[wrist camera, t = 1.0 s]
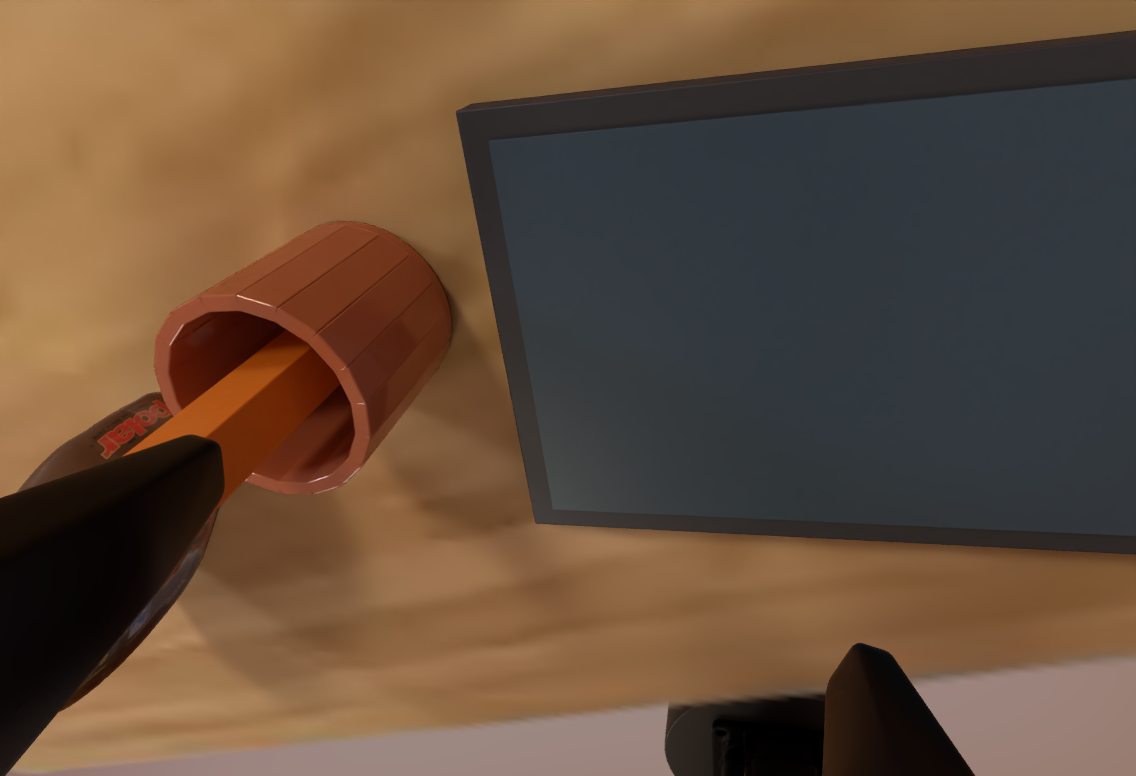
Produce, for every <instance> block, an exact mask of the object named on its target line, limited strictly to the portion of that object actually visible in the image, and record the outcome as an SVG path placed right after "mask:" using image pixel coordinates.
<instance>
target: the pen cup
mask: <svg viewBox="0 0 1136 776" xmlns="http://www.w3.org/2000/svg"><path fill="white" fill-rule="evenodd" d="M286 329H287V330H288V331H290V332H291V333H293V334H294V335H296V336H298V337H299V338H301V339H302V340H304V341H305V342H307V343H308V344H309V345H310V346H311V347H312V348H313V349H314V350H315V351H316V352H317V353H318V355H319V356H320V357H321V358H322V359H323V360H324V361H325V362H326V363H327V364H328V365H329V366H330V368H331V369H332V370H333V371H334V372H335V374H336V376H337V378H338V379H339V381H340V383H341V384H340V385H339V386H338V387H337V388H336V389H335V390H334V391H333V392H332V393H331V394H330V395H329V396H328V397H327V398H326V399H325V400H324V401H323V402H322V403H321V404H320V405H319V406H318V407H317V408H316V409H315V410H314V411H313V412H312V413H311V414H310V415H309V416H308V417H307V418H306V419H305V420H304V421H303V422H302V423H301V424H300V425H299V426H298V427H297V428H296V429H295V430H294V431H293V432H292V433H291V434H290V435H289V436H288V437H287V439H286V440H285V441H284V442H283V443H282V444H281V445H280V446H279V447H278V448H277V449H276V450H275V451H274V452H273V453H272V454H271V455H270V456H269V457H268V458H267V459H266V460H265V461H264V462H263V463H262V464H261V465H260V466H259V467H258V468H257V469H256V470H255V471H254V472H253V473H252V474H251V475H250V476H249V477H248V478H247V479H246V480H245V481H247V482H248V483H251V484H254V485H257V486H260V487H263V488H266V489H269V490H272V491H275V492H278V493H283V494H303V495H314V494H315V495H316V494H319V493H322V492H325V491H328V490H331V489H334V488H337V487H340V486H342V485H344V484H345V483H346V482H347V481H348V480H349V479H350V478H351V477H352V476H353V475H354V474H355V473H356V472H358V471H359V470H360V469H361V468H362V466H363V465H364V464H365V463H366V461H367V460H368V459H369V457H370V456H371V455H372V454H373V452H374V451H375V450H376V448H377V447H378V446H379V445H380V443H381V442H382V441H383V439H384V438H385V437H386V436H387V434H388V433H389V432H390V430H391V429H392V428H393V427H394V425H395V424H396V423H397V421H398V420H399V419H400V418H401V416H402V415H403V414H404V412H405V411H406V410H407V409H408V407H409V406H410V405H411V403H412V402H413V401H414V400H415V398H416V397H417V396H418V394H419V393H420V392H421V391H422V389H423V388H424V387H425V385H426V384H427V383H428V382H429V380H430V379H431V378H432V376H433V375H434V374H435V373H436V371H437V370H438V368H439V366H440V364H441V363H442V361H443V360H444V358H445V356H446V353H447V351H448V348H449V344H450V341H451V332H452V321H451V313H450V307H449V304H448V300H447V297H446V294H445V292H444V290H443V287H442V285H441V283H440V282H439V280H438V278H437V276H436V275H435V273H434V272H433V270H432V269H431V268H430V266H429V265H428V264H427V262H426V261H425V260H424V259H423V258H422V257H421V256H420V255H419V254H418V253H417V252H416V251H415V250H414V249H413V248H412V247H410V246H409V245H408V244H407V243H405V242H404V241H402V240H401V239H399V238H398V237H396V236H394V235H393V234H391V233H389V232H387V231H385V230H383V229H380V228H378V227H375V226H372V225H368V224H365V223H359V222H352V221H337V222H330V223H326V224H323V225H319V226H317V227H315V228H313V229H311V230H309V231H307V232H305V233H304V234H302V235H300V236H298V237H296V238H295V239H293V240H291V241H289V242H288V243H286V244H284V245H282V246H281V247H279V248H277V249H276V250H274V251H272V252H270V253H269V254H267V255H265V256H264V257H262V258H260V259H259V260H257V261H255V262H253V263H252V264H250V265H248V266H247V267H245V268H243V269H241V270H240V271H238V272H236V273H235V274H233V275H231V276H229V277H228V278H226V279H224V280H223V281H221V282H219V283H217V284H216V285H214V286H212V287H211V288H209V289H207V290H205V291H204V292H202V293H200V294H199V295H197V296H195V297H193V298H192V299H190V300H188V301H187V302H185V303H183V304H181V305H180V306H178V307H176V308H175V309H173V310H172V311H171V312H170V314H169V315H168V317H167V319H166V320H165V322H164V324H163V325H162V327H161V329H160V330H159V332H158V334H157V335H156V339H155V356H154V368H155V369H154V371H155V374H156V377H157V381H158V384H159V387H160V390H161V393H162V396H163V400H164V402H166V403H165V404H166V406H167V407H168V409H169V410H170V412H171V413H172V415H173V416H175V415H176V414H178V413H179V412H180V411H182V410H183V409H184V408H186V407H187V406H188V405H189V404H191V403H192V402H193V401H195V400H196V399H197V398H198V397H200V396H201V395H202V394H204V393H205V392H206V391H207V390H209V389H210V388H211V387H213V386H214V385H215V384H217V383H218V382H219V381H220V380H222V379H223V378H224V377H226V376H227V375H228V374H229V373H231V372H232V371H233V370H235V369H236V368H237V367H239V366H240V365H241V364H242V363H244V362H245V361H246V360H248V359H249V358H250V357H251V356H253V355H254V354H255V353H257V352H258V351H259V350H261V349H262V348H263V347H264V346H266V345H267V344H268V343H270V342H271V341H272V340H273V339H275V338H276V337H277V336H279V335H280V334H281V333H283V332H284V331H285V330H286Z"/></svg>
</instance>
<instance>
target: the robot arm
mask: <svg viewBox="0 0 1136 776" xmlns="http://www.w3.org/2000/svg"><path fill="white" fill-rule="evenodd" d="M224 490H225V477H224V467H223V457H222V449H221V446H220V445H219V443H218V442H216V441H214V440H211V439H208V438H204V437H201V436H198V435H194V434H188V435H184V436H181V437H178V438H175V439H172V440H169V441H166V442H163V443H160V444H157V445H154V446H152V447H149V448H146V449H143V450H140V451H137V452H134V453H131V454H128V455H125V456H122V457H119V458H116V459H113V460H111V461H108V462H105V463H102V464H99V465H96V466H93V467H90V468H87V469H84V470H81V471H78V472H75V473H72V474H70V475H67V476H64V477H61V478H58V479H55V480H52V481H49V482H46V483H43V484H40V485H37V486H34V487H31V488H29V489H26V490H23V491H20V492H17V493H14V494H11V495H8V496H5V497H2V498H0V776H5V775H6V774H7V773H8V772H9V771H10V769H11V768H12V767H13V766H14V765H15V764H16V762H17V761H18V760H19V759H20V758H21V756H22V755H23V754H24V753H25V752H26V750H27V749H28V748H29V747H30V746H31V744H32V743H33V742H34V741H35V740H36V738H37V737H38V736H39V735H40V734H41V732H42V731H43V730H44V729H45V728H46V726H47V725H48V724H49V723H50V722H51V720H52V719H53V718H54V717H55V716H56V714H57V713H58V712H59V711H60V710H61V708H62V707H63V706H64V705H65V704H66V702H67V701H68V700H69V699H70V698H71V696H72V695H73V694H74V693H75V692H76V690H77V689H78V688H79V687H80V686H81V684H82V683H83V682H84V681H85V680H86V679H87V677H88V676H89V675H90V674H91V673H92V671H93V670H94V669H95V668H96V667H97V665H98V664H99V663H100V662H101V661H102V659H103V658H104V657H105V656H106V655H107V653H108V652H109V651H110V650H111V649H112V647H113V646H114V645H115V644H116V643H117V641H118V640H119V639H120V638H121V637H122V635H123V634H124V633H125V632H126V631H127V629H128V628H129V627H130V626H131V625H132V623H133V622H134V621H135V620H136V619H137V617H138V616H139V615H140V614H141V613H142V611H143V610H144V609H145V608H146V607H147V605H148V604H149V603H150V602H151V600H152V599H153V598H154V597H155V595H156V594H157V593H158V592H159V590H160V589H161V588H162V586H163V585H164V583H165V582H166V581H167V579H168V578H169V576H170V575H171V573H172V572H173V570H174V569H175V568H176V566H177V565H178V563H179V562H180V560H181V559H182V557H183V556H184V554H185V553H186V551H187V550H188V548H189V547H190V545H191V544H192V542H193V541H194V539H195V538H196V536H197V535H198V533H199V532H200V530H201V529H202V527H203V526H204V525H205V523H206V522H207V520H208V519H209V517H210V516H211V514H212V513H213V511H214V510H215V508H216V507H217V505H218V504H219V502H220V500H221V498H222V496H223V493H224ZM711 733H712V760H713V776H975V775H974V774H973V772H972V770H971V769H970V767H969V766H968V765H967V763H966V762H965V760H964V759H963V758H962V756H961V754H960V753H959V752H958V750H957V749H956V747H955V746H954V744H953V743H952V741H951V740H950V739H949V737H948V736H947V734H946V733H945V731H944V730H943V728H942V727H941V726H940V724H939V723H938V721H937V720H936V718H935V717H934V715H933V714H932V712H931V711H930V709H929V708H928V707H927V706H926V704H925V702H924V701H923V699H922V698H921V696H920V695H919V694H918V692H917V691H916V689H915V688H914V686H913V685H912V683H911V682H910V680H909V679H908V678H907V676H906V675H905V673H904V672H903V670H902V669H901V667H900V666H899V665H898V663H897V662H896V660H895V659H894V657H893V656H892V655H891V654H890V653H889V652H887V651H885V650H882V649H879V648H876V647H872V646H869V645H866V644H863V643H857V644H855V645H853V646H852V648H851V649H850V650H849V652H848V653H847V654H846V656H845V657H844V659H843V660H842V662H841V663H840V665H839V666H838V668H837V669H836V670H835V672H834V673H833V675H832V676H831V678H830V680H829V683H828V686H827V690H826V701H825V726H824V731H818V730H810V729H801V728H793V727H784V726H775V725H767V724H758V723H750V722H741V721H733V720H724V719H717V720H714V721H713V722H712V731H711Z"/></svg>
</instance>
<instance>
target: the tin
mask: <svg viewBox="0 0 1136 776" xmlns="http://www.w3.org/2000/svg"><path fill="white" fill-rule="evenodd" d="M165 403H166V402H164V400H163V396H162V393H161V392H155V393H149V394H146V395H144V396H142V397H141V398H139V399H137V400H136V401H134V402H132V403H130V404H128V405H126V406H124V407H122V408H120V409H119V410H117V411H115V412H113V413H112V414H110V415H108V416H107V417H105V418H104V419H102V420H101V421H99V422H97V423H96V424H94V425H93V426H92V427H90V428H89V429H87V430H86V431H84V432H83V433H81V434H79V435H78V436H76V437H74V438H72V439H71V440H69V441H67V442H66V443H64V444H63V445H62V446H60V447H59V448H58V449H57V450H55V451H54V452H53V453H52V454H51V455H50V456H49V457H48V458H47V459H46V460H45V461H44V462H43V463H42V464H41V465H40V466H39V467H38V468H37V469H36V470H35V471H34V472H33V473H32V474H31V476H30V477H29V478H28V479H27V480H26V481H25V483H24V484H23V485H22V486H21V488H20V489H19V490H18V491H17V492H20V491H23V490H26V489H29V488H31V487H34V486H37V485H40V484H43V483H46V482H49V481H52V480H55V479H58V478H61V477H64V476H67V475H70V474H72V473H75V472H78V471H81V470H84V469H87V468H90V467H93V466H96V465H99V464H102V463H105V462H108V461H111V460H113V459H116V458H119V457H122V456H123V455H125V454H126V453H127V452H129V451H130V450H131V449H132V448H134V447H135V446H136V445H138V444H139V443H140V442H142V441H143V440H144V439H145V438H147V437H148V436H149V435H151V434H152V433H153V432H154V431H156V430H157V429H158V428H160V427H161V426H162V425H164V424H165V423H166V422H167V421H169V420H170V419H171V418H173V417H174V416H173V415H172V413H171V412H170V410H169V409H168V407H167V406H166V404H165ZM17 492H16V493H17ZM217 511H218V508H217V509H216V510H215V511H214V512H213V513H212V514H211V516H210V517H209V519H208V520H207V522H206V523H205V525H204V526H203V527H202V529H201V530H200V532H199V533H198V535H197V536H196V538H195V539H194V541H193V542H192V544H191V545H190V547H189V548H188V550H187V551H186V553H185V554H184V556H183V557H182V559H181V560H180V562H179V563H178V565H177V566H176V568H175V569H174V570H173V572H172V573H171V575H170V576H169V578H168V579H167V581H166V582H165V583H164V585H163V586H162V588H161V589H160V590H159V592H158V593H157V594H156V595H155V597H154V598H153V599H152V600H151V602H150V603H149V604H148V605H147V607H146V608H145V609H144V610H143V611H142V613H141V614H140V615H139V616H138V617H137V619H136V620H135V621H134V622H133V623H132V625H131V626H130V627H129V628H128V629H127V631H126V632H125V633H124V634H123V635H122V637H121V638H120V639H119V640H118V641H117V643H116V644H115V645H114V646H113V647H112V649H111V650H110V651H109V652H108V653H107V655H106V656H105V657H104V658H103V659H102V661H101V662H100V663H99V664H98V665H97V667H96V668H95V669H94V670H93V671H92V673H91V674H90V675H89V676H88V677H87V679H86V680H85V681H84V682H83V683H82V684H81V686H80V687H79V688H78V689H77V690H76V692H75V693H74V694H73V695H72V696H71V698H70V699H69V700H68V701H67V702H66V704H65V705H64V706H63V707H62V708H61V710H60V711H62V710H64V709H66V708H68V707H70V706H71V705H72V704H74V703H76V702H77V701H78V700H80V699H81V698H82V697H84V696H85V695H87V694H88V693H89V692H90V691H91V690H93V689H94V688H95V687H97V686H98V685H99V684H100V683H101V682H102V681H103V680H104V679H105V678H107V677H108V676H109V675H110V674H111V673H112V672H113V671H114V670H115V669H116V668H118V667H119V666H120V665H121V664H122V663H123V662H124V661H125V660H126V658H127V657H128V656H129V655H130V654H132V653H133V651H134V650H135V649H136V648H137V647H138V646H139V645H140V644H141V643H142V641H143V640H144V639H145V638H146V637H147V636H148V635H149V634H150V632H151V631H152V630H153V629H154V628H155V626H156V625H157V624H158V623H159V621H160V620H161V619H162V618H163V617H164V615H165V614H166V613H167V612H168V610H169V609H170V608H171V607H172V605H173V604H174V603H175V602H176V600H177V599H178V598H179V596H180V595H181V594H182V592H183V591H184V589H185V588H186V586H187V585H188V583H189V581H190V580H191V578H192V576H193V575H194V573H195V571H196V569H197V567H198V566H199V563H200V561H201V559H202V557H203V554H204V551H205V549H206V546H207V542H208V539H209V536H210V533H211V530H212V526H213V524H214V520H215V517H216V514H217ZM60 711H59V712H60Z"/></svg>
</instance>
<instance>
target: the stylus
mask: <svg viewBox="0 0 1136 776" xmlns="http://www.w3.org/2000/svg"><path fill="white" fill-rule="evenodd" d="M340 384H341V383H340V381H339V379H338V378H337V376H336V374H335V372H334V371H333V370H332V369H331V368H330V366H329V365H328V364H327V363H326V362H325V361H324V360H323V359H322V358H321V357H320V356H319V355H318V353H317V352H316V351H315V350H314V349H313V348H312V347H311V346H310V345H309V344H308V343H307V342H305V341H304V340H302V339H301V338H299V337H298V336H296V335H294V334H293V333H291V332H290V331H288V330H287V329H286V330H285V331H284V332H283V333H281V334H280V335H279V336H277V337H276V338H275V339H273V340H272V341H271V342H270V343H268V344H267V345H266V346H264V347H263V348H262V349H261V350H259V351H258V352H257V353H255V354H254V355H253V356H251V357H250V358H249V359H248V360H246V361H245V362H244V363H242V364H241V365H240V366H239V367H237V368H236V369H235V370H233V371H232V372H231V373H229V374H228V375H227V376H226V377H224V378H223V379H222V380H220V381H219V382H218V383H217V384H215V385H214V386H213V387H211V388H210V389H209V390H207V391H206V392H205V393H204V394H202V395H201V396H200V397H198V398H197V399H196V400H195V401H193V402H192V403H191V404H189V405H188V406H187V407H186V408H184V409H183V410H182V411H180V412H179V413H178V414H176V415H175V416H174V417H173V418H171V419H170V420H169V421H167V422H166V423H165V424H164V425H162V426H161V427H160V428H158V429H157V430H156V431H154V432H153V433H152V434H151V435H149V436H148V437H147V438H145V439H144V440H143V441H142V442H140V443H139V444H138V445H136V446H135V447H134V448H132V449H131V450H130V451H129V452H127V453H126V454H125V455H128V454H131V453H134V452H137V451H140V450H143V449H146V448H149V447H152V446H154V445H157V444H160V443H163V442H166V441H169V440H172V439H175V438H178V437H181V436H184V435H188V434H194V435H198V436H201V437H204V438H208V439H211V440H214V441H216V442H218V443H219V445H220V446H221V449H222V457H223V467H224V477H225V490H224V493H223V496H222V498H221V500H220V502H219V504H218V505H217V507H216V508H215V510H216V509H217V508H218V507H219V506H220V505H221V504H222V503H223V502H224V501H225V500H226V499H227V498H228V497H229V496H230V495H231V494H232V493H233V492H234V491H235V490H236V489H237V488H238V487H239V486H240V485H241V484H242V483H243V482H244V481H245V480H246V479H247V478H248V477H249V476H250V475H251V474H252V473H253V472H254V471H255V470H256V469H257V468H258V467H259V466H260V465H261V464H262V463H263V462H264V461H265V460H266V459H267V458H268V457H269V456H270V455H271V454H272V453H273V452H274V451H275V450H276V449H277V448H278V447H279V446H280V445H281V444H282V443H283V442H284V441H285V440H286V439H287V437H288V436H289V435H290V434H291V433H292V432H293V431H294V430H295V429H296V428H297V427H298V426H299V425H300V424H301V423H302V422H303V421H304V420H305V419H306V418H307V417H308V416H309V415H310V414H311V413H312V412H313V411H314V410H315V409H316V408H317V407H318V406H319V405H320V404H321V403H322V402H323V401H324V400H325V399H326V398H327V397H328V396H329V395H330V394H331V393H332V392H333V391H334V390H335V389H336V388H337V387H338V386H339V385H340ZM125 455H123V456H125ZM215 510H214V511H215ZM214 511H213V512H214Z"/></svg>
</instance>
